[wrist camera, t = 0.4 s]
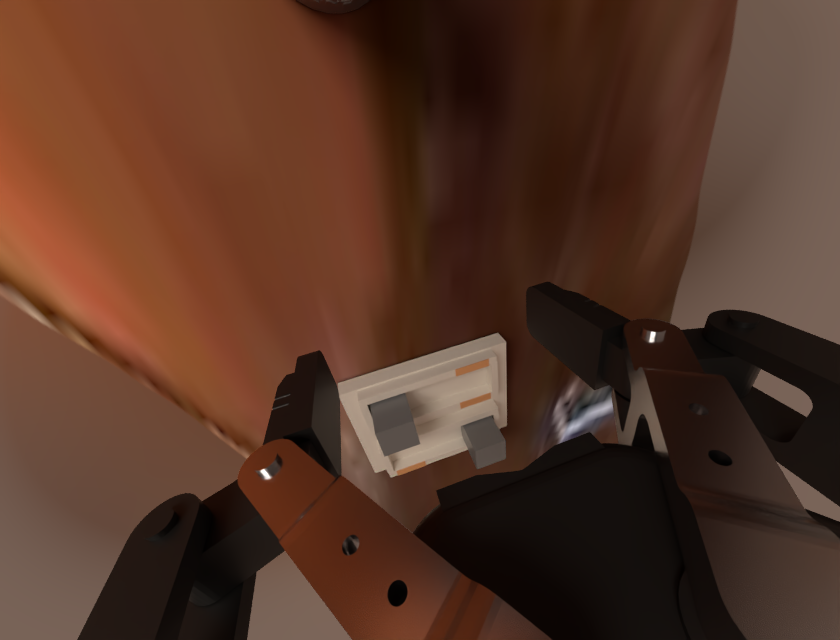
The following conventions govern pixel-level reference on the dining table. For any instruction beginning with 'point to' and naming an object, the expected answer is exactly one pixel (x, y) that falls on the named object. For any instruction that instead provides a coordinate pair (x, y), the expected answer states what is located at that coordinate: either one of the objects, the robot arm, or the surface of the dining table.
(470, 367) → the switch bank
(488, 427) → the tab
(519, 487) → the robot arm
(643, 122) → the dining table surface
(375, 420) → the tab
